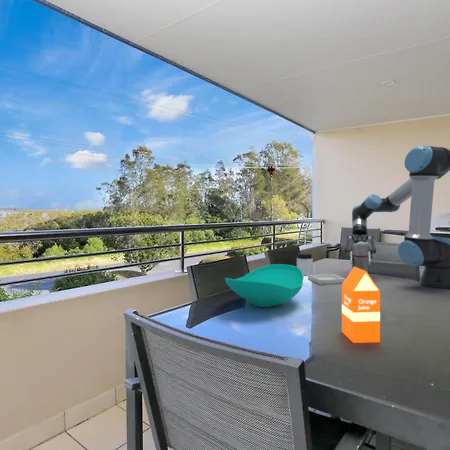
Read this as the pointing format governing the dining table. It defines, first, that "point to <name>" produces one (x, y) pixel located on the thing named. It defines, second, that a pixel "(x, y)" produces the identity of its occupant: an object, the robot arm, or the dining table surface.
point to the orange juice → (360, 307)
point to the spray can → (360, 256)
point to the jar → (305, 263)
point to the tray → (326, 279)
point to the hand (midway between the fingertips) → (360, 262)
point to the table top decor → (268, 284)
